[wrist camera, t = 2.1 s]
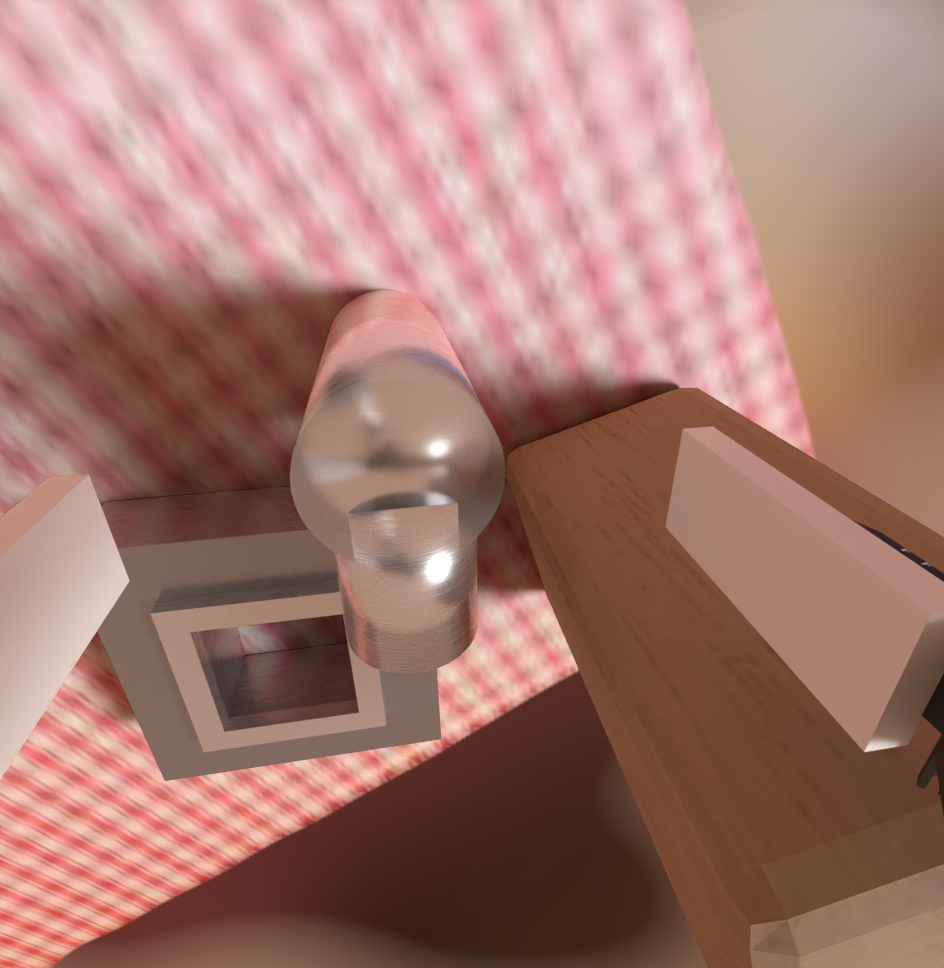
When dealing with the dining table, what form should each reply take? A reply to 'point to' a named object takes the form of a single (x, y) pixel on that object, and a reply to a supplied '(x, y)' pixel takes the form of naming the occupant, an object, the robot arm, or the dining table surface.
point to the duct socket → (217, 645)
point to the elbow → (398, 481)
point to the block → (732, 707)
